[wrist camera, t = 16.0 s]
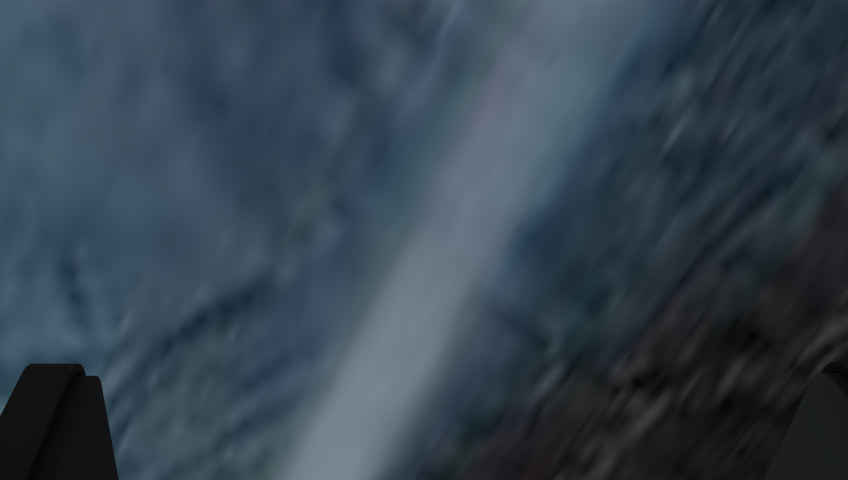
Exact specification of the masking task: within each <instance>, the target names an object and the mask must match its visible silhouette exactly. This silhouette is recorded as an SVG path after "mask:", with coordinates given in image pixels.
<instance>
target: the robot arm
mask: <svg viewBox="0 0 848 480" xmlns="http://www.w3.org/2000/svg"><path fill="white" fill-rule="evenodd" d="M0 480H118V474H117V469H116V463H115V457H114V452H113V446H112V441H111V435H110V430H109V424H108V419H107V413H106V407H105V402H104V396H103V391H102V385H101V381H100V379H99V377H98V376H86V374H85V371H84V368H83V367H82V365H81V364H30V365H28V366H27V367H26V368H25V369H24V371H23V372H22V374H21V376H20V378H19V380H18V382H17V384H16V386H15V388H14V390H13V392H12V394H11V396H10V398H9V400H8V402H7V404H6V406H5V408H4V410H3V412H2V414H1V416H0ZM765 480H848V362H834V363H829V364H828V365H826V366H825V367H824V369H823V370H822V372H821V373H818V374H816V375H815V376H814V377H813V379H812V380H811V382H810V384H809V386H808V388H807V391H806V393H805V395H804V397H803V399H802V401H801V403H800V406H799V408H798V410H797V412H796V414H795V416H794V419H793V421H792V423H791V425H790V427H789V429H788V431H787V434H786V436H785V438H784V440H783V442H782V444H781V446H780V449H779V451H778V453H777V455H776V457H775V459H774V461H773V464H772V466H771V468H770V470H769V472H768V474H767V477H766V479H765Z"/></svg>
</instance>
